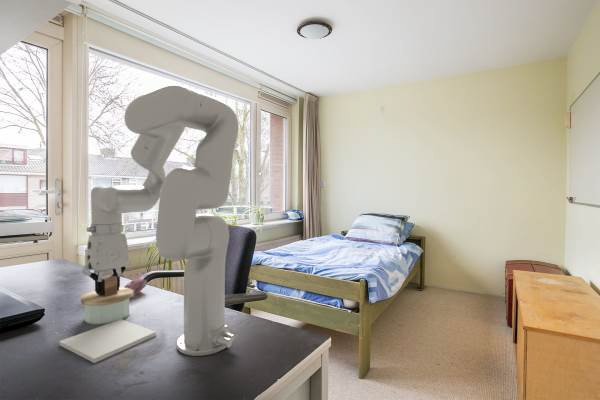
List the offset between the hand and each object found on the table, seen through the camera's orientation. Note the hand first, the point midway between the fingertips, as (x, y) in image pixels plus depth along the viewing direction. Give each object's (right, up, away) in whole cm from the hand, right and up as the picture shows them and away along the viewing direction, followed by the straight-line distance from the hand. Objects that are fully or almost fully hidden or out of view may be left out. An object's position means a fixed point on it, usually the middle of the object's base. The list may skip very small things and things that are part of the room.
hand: (107, 291), depth 93 cm
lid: (0, -2, 0) cm, 2 cm away
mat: (+9, -8, -14) cm, 18 cm away
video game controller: (-2, -7, +18) cm, 20 cm away
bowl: (0, -7, 0) cm, 7 cm away
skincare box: (-11, -7, +19) cm, 23 cm away
